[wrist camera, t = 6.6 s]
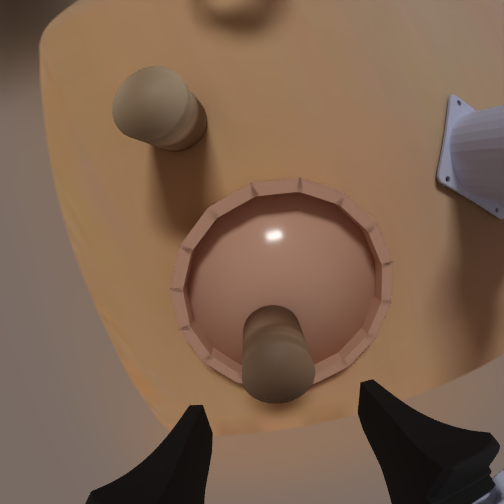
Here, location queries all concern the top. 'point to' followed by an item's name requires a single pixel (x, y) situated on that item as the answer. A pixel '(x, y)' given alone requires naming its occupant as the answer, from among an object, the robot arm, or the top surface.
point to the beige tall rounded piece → (159, 109)
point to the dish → (283, 273)
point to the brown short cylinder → (275, 356)
